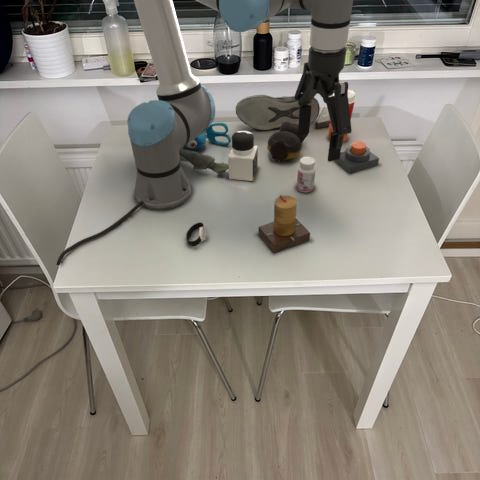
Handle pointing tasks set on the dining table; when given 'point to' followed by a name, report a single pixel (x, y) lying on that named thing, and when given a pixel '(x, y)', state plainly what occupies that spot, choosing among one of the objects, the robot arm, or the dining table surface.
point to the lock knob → (285, 215)
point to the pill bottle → (306, 174)
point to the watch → (201, 234)
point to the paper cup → (351, 104)
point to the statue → (202, 161)
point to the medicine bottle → (243, 157)
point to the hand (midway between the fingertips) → (318, 146)
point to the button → (358, 148)
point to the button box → (356, 160)
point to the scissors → (217, 134)
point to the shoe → (272, 111)
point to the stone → (323, 118)
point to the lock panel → (283, 237)
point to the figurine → (286, 142)
